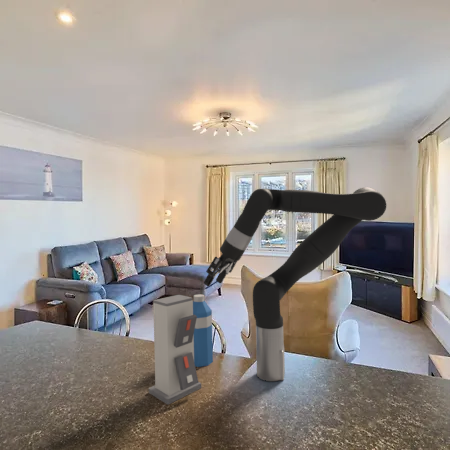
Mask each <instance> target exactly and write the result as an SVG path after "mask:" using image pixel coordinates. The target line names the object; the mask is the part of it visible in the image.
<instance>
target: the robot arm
mask: <svg viewBox="0 0 450 450" xmlns="http://www.w3.org/2000/svg"><path fill="white" fill-rule="evenodd" d="M247 199H248V200H247V201H246V203H245V205H244V207H243V209H242V212H241V214H240V215H239V216H238V218H237V220H236V222H235V223H234V225H233V227H232V228H231V229H230V230H229V232H228V233H227V235H226V237H225V239H224V240H223V242H222V243H221V246H220V248H219V251H220V252H221V255H220V256H219V257H217V256H215V257H213V260H212V261H211V262H210V264H209V266H208V268H207V269H206V274H207V276H206V277H205V278H204V281H203V284H204V285H206V287H211V285H212V283H213V281H214V280H216V282H218V283H219V284H222V283H223V281H224V279H225V278H226V276H227V275H229V274H231V273H232V272H233V270H234V268H235V266H236V265H237V263H238V261H240V260H241V258H242V257H243V254H245V252H246V250H247V248H248V246H249V245H250V243H251V242H252V239H253V236H254V235H255V234H256V232H257V230H258V228H259V226H260V223H261V221H262V219H263V218H264V217H265V215H266V214H267V212H268V211H282V212H285V213H286V212H287V213H300V214H302V213H303V214H322V215H323V214H325V215H332V216H330V217H329V218H328V219H326V221H324V222H323V223H322V224H321V225H319V226H318V227H317V228H316V229H315V230H313V232H311V233H310V234H309V235H308V236H307V237H306V238H305V239H304V240H303V241H301V242H300V243H299V244H298V246H297V247H296V248H295V249H294V250H293V251H292V253H291V254H290V256H289V257H288V258H287V259H286V260H285V262H284V263H283V264H282V265H281V266H280V267H278V268H277V269H276V270H275V271H273V272H272V273H271V274H269V275H267V276H266V277H263V278H261V279H260V280H258V281H257V282H255V284H254V286H253V288H252V307H253V308H252V309H253V311H252V312H253V317H254V320H255V344H256V345H255V348H256V350H255V352H256V354H255V355H256V376H257V377H259V378H258V379H260V378H261V379H260V380H262V379H263V381H265V380H266V381H265V382H277V381H278V382H279V381H284V380H285V379H284V378H285V373H286V372H285V371H286V369H285V368H286V367H285V344H284V342H285V341H284V317H283V316H282V315H281V303H280V302H281V300H282V299H283V297H284V296H285V295H286V294H287V293H288V292H289V290H290V289H292V287H294V285H296V283H297V282H298V281H299V280H300V279H302V278H304V277H306V276H307V275H308V274H310V273H311V272H313V271H314V270H316V269H317V268H318V267H320V266H321V265H322V264H323V263H324V262H325V261H327V260H328V259H329V258H330V257H331V256H332V255H334V254H333V253H335V252H336V250H337V249H338V248H339V247H340V245H341V244H342V242H343V241H344V239H346V237H347V235H348V234H349V232H350V231H352V229H354V227H356V226H357V225H359V224H360V223H361V222H362V221H365V222H366V221H369V222H371V221H375V220H378V219H379V218H381V217H382V216H383V215H384V213H385V212H386V210H387V200H386V198H385V197H384V196H383V194H382V193H380V192H379V191H378V190H376V189H374V188H372V187H368V186H367V187H366V186H365V187H359V188H358V189H356V190H355V191H353V193H329V192H321V191H316V190H309V189H308V190H307V189H284V190H283V189H275V188H274V189H273V188H257V189H255V190H254V191H252V193H251V194H250V196H249V198H247Z"/></svg>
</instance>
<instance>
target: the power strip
mask: <svg viewBox="0 0 450 450" xmlns="http://www.w3.org/2000/svg"><path fill="white" fill-rule="evenodd" d="M193 301H194V297H191V296H187V295H182V294H176V295H171V296H167V297H163V298H158V299H153V300H152V302H153V304H152V307H153V309H152V310H153V338H154V339H153V341H154V343H153V344H154V345H153V347H154V379H155V380H154V382H155V384H154V385H152V386H150V387H148V394H150V395H151V396H153V397H154V398H156V399H158V400H159V401H161V402H163V403H164V404H166V405H171V404H172V403H175V402H176V401H179V400H180V399H182V398H185V397H186V396H188V395H190V394H192V393H194V392H197V391H198V390H201V389H202V382H199V381H198V382H199V383H197V384H195V385H192V386H190V387H188V388H186V389H184V390H181V389H180V384H179V379H178V374H177V370H176V365H175V360H174V358H176V357H179V356H182V355H184V354H187V353H189V352H192V354H193V359H194V334H193V339H192V342H191V343H188V344H186V345H183V346H180V347H177V348H176V347H175V346H174V342H175V337H176V332H177V327H178V321H179V319H180V318H184V317H188V316H191V315H193Z"/></svg>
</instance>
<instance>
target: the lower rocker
mask: <svg viewBox="0 0 450 450" xmlns="http://www.w3.org/2000/svg"><path fill="white" fill-rule="evenodd" d="M174 360H175V365H176V370H177V374H178V379H179V384H180V389H181V390H184V389H186V388H188V387H190V386H192V385H195V384H197V383H199V379H198V378H199V377H198V374H197V370H196V366H195V363H194V359H193V354H192V352H189V353H187V354H184V355H182V356H179V357H176V358H174Z"/></svg>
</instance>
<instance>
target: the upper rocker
mask: <svg viewBox="0 0 450 450" xmlns="http://www.w3.org/2000/svg"><path fill="white" fill-rule="evenodd" d="M196 319H197V316H196V315H191V316H188V317H184V318H180V319H179V321H178V327H177V332H176V337H175V342H174V346H175V347H176V348H177V347H180V346H183V345H186V344H188V343H191V342H192V339H193V334H194V329H195V324H196Z"/></svg>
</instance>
